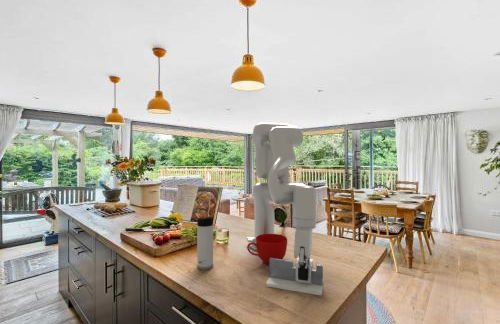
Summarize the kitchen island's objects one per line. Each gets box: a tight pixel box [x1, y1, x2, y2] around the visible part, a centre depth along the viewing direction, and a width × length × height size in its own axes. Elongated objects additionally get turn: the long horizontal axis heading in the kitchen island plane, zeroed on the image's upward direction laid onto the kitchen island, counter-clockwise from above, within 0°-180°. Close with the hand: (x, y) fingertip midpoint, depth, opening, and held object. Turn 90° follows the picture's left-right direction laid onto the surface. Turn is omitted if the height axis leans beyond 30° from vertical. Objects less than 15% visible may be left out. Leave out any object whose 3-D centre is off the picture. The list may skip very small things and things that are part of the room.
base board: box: [265, 277, 324, 296], centre depth 87 cm, size 18×10×1 cm, turn 71°
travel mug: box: [196, 216, 214, 271], centre depth 100 cm, size 6×7×20 cm
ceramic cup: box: [246, 233, 288, 266], centre depth 104 cm, size 13×17×10 cm
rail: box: [269, 258, 324, 287], centre depth 87 cm, size 18×1×6 cm, turn 71°
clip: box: [295, 257, 314, 284], centre depth 86 cm, size 5×5×6 cm
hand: (304, 274), depth 86 cm, fingers open, 6 cm apart
